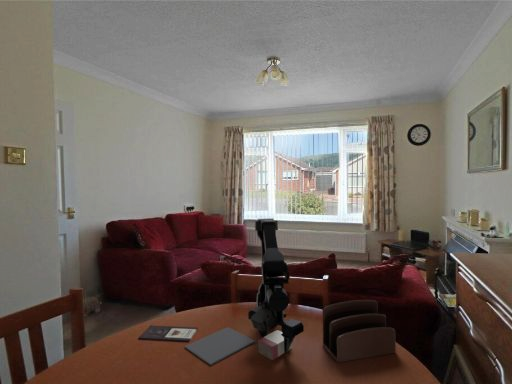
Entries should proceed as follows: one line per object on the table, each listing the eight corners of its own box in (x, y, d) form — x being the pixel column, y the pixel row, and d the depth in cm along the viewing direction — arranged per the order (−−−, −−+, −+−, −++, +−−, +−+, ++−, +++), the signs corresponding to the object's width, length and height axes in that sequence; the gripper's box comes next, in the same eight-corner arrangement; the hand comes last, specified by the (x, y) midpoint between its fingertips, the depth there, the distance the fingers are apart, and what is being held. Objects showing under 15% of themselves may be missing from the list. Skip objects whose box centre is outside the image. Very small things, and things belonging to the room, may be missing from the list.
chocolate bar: (150, 325, 114) (197, 327, 112) (150, 327, 114) (197, 330, 112) (138, 337, 105) (188, 340, 103) (138, 340, 105) (189, 343, 103)
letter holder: (322, 345, 99) (321, 302, 99) (376, 337, 104) (376, 296, 103) (337, 363, 90) (337, 316, 89) (396, 353, 94) (396, 308, 94)
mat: (228, 328, 112) (227, 327, 112) (255, 342, 102) (254, 340, 102) (184, 347, 99) (184, 346, 99) (210, 365, 89) (210, 364, 89)
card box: (277, 341, 102) (277, 329, 102) (291, 348, 98) (291, 336, 98) (258, 352, 96) (258, 339, 96) (272, 360, 92) (272, 347, 91)
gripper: (235, 297, 97) (236, 346, 98) (280, 315, 84) (280, 371, 84) (259, 288, 105) (260, 333, 106) (304, 303, 92) (305, 354, 92)
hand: (274, 347), depth 97 cm, fingers open, 9 cm apart
